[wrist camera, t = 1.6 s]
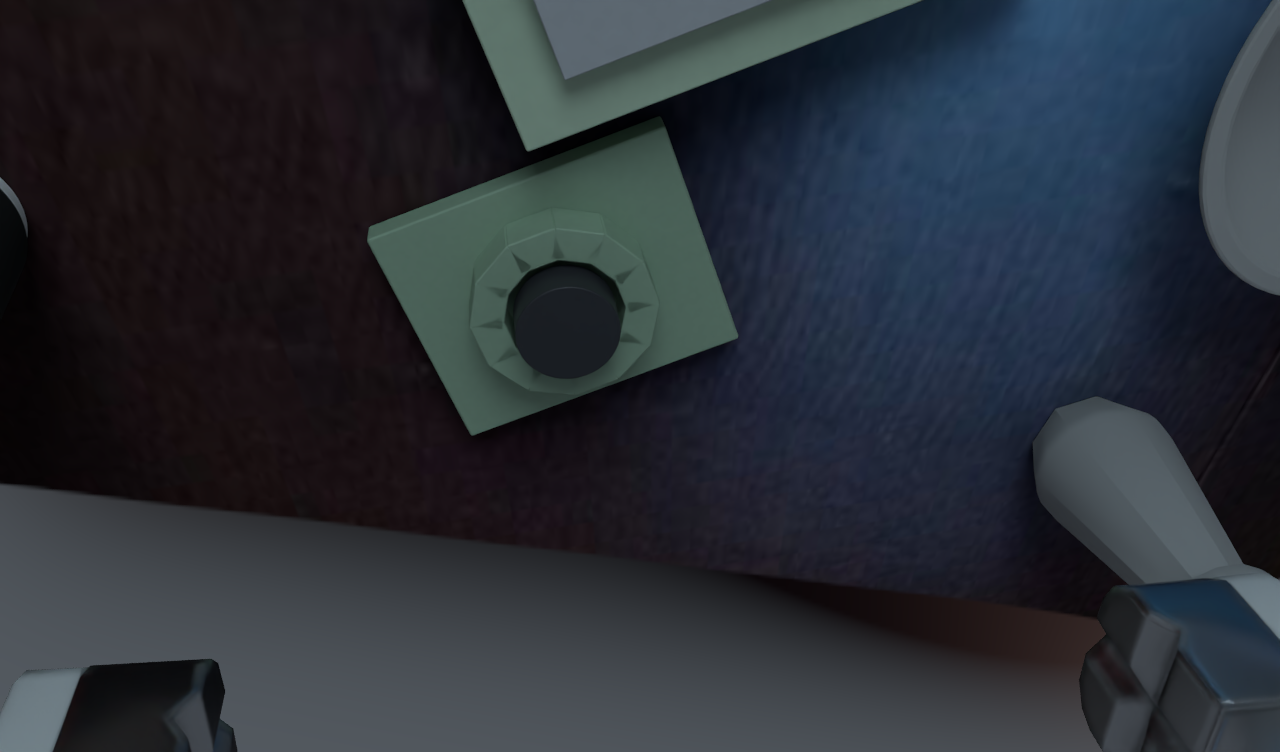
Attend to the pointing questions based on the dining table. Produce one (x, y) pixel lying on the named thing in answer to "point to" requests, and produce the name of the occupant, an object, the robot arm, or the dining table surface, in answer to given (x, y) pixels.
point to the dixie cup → (11, 243)
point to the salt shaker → (1129, 495)
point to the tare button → (566, 322)
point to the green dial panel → (549, 236)
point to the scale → (637, 50)
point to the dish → (1246, 161)
